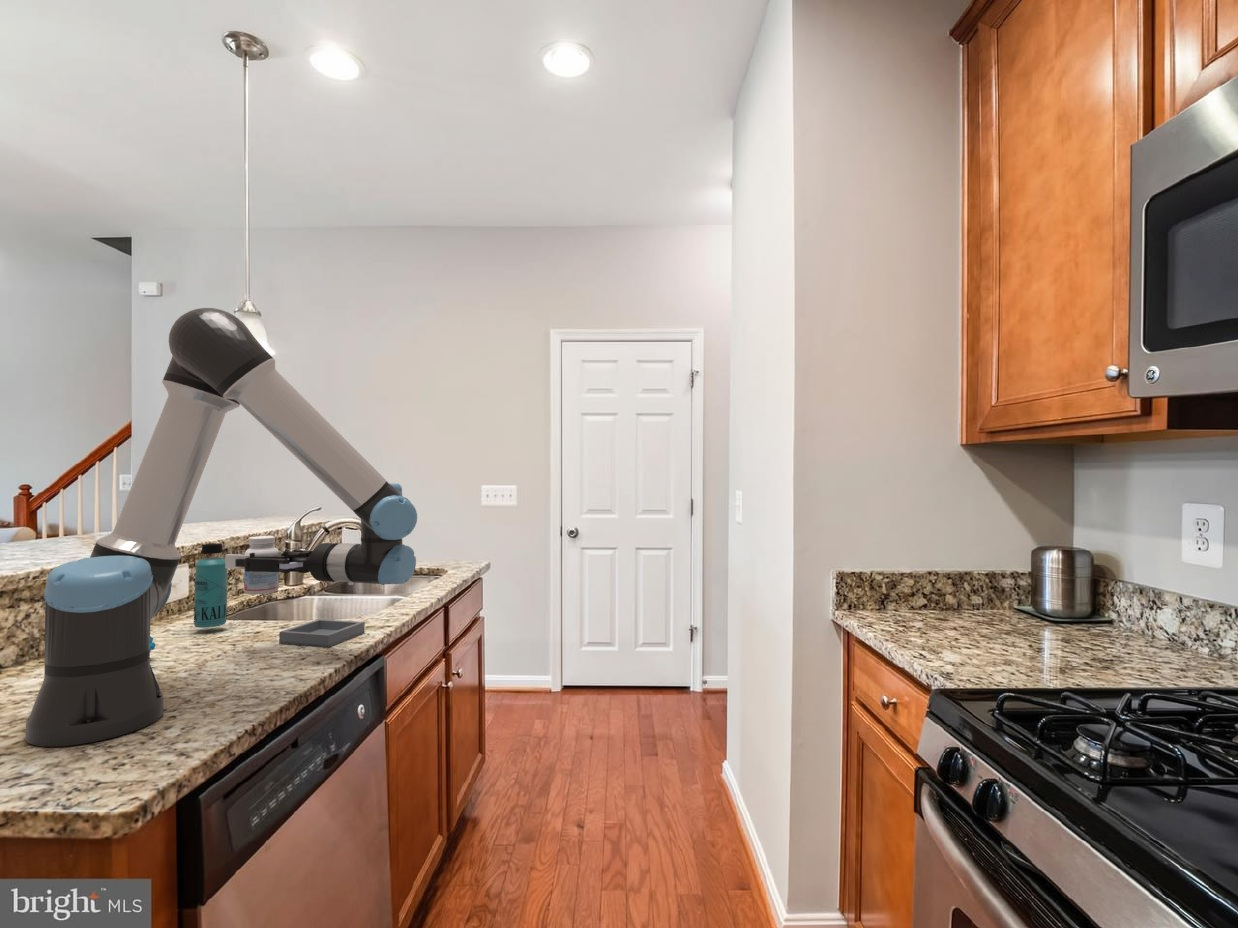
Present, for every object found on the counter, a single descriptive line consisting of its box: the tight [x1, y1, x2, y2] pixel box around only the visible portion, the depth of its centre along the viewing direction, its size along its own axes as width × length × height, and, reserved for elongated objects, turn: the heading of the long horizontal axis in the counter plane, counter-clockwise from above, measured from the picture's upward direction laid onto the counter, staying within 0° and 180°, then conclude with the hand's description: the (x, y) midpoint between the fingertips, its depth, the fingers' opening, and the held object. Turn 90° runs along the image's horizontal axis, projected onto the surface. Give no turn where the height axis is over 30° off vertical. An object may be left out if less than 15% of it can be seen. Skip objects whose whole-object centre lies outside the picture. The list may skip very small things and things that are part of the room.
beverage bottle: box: [192, 542, 229, 629], centre depth 142 cm, size 6×7×20 cm
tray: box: [278, 618, 366, 649], centre depth 136 cm, size 12×12×2 cm
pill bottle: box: [243, 535, 280, 596], centre depth 126 cm, size 6×6×11 cm
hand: (241, 558), depth 128 cm, fingers closed on pill bottle, 6 cm apart
